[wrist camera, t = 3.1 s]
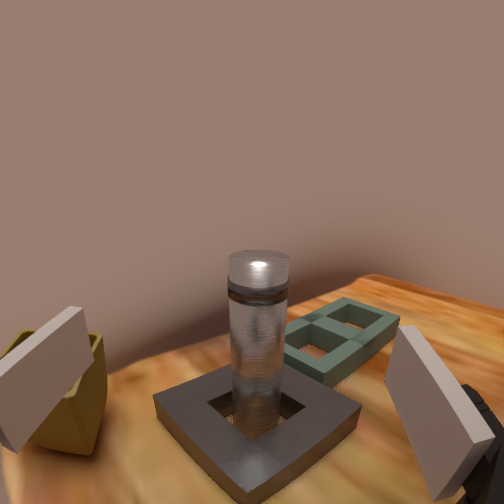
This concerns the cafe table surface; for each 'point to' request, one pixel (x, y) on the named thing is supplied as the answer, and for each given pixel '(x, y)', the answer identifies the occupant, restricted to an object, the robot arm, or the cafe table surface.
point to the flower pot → (74, 405)
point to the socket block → (265, 447)
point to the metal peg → (257, 337)
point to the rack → (338, 339)
